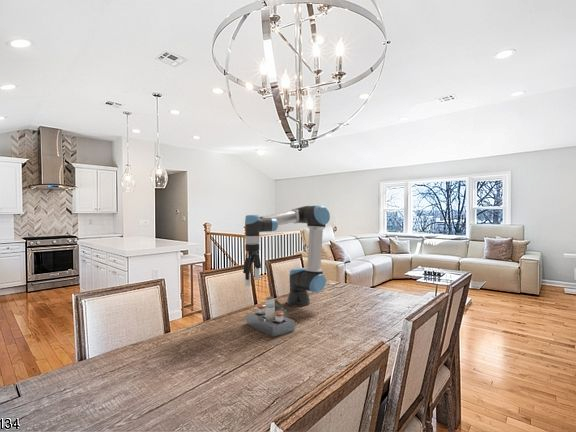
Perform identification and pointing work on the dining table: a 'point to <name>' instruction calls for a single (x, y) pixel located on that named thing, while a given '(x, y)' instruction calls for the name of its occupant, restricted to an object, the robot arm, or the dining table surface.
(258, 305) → the plunger
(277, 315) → the plunger
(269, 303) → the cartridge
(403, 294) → the dining table surface
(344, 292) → the dining table surface
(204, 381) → the dining table surface
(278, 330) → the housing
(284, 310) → the beverage carton
